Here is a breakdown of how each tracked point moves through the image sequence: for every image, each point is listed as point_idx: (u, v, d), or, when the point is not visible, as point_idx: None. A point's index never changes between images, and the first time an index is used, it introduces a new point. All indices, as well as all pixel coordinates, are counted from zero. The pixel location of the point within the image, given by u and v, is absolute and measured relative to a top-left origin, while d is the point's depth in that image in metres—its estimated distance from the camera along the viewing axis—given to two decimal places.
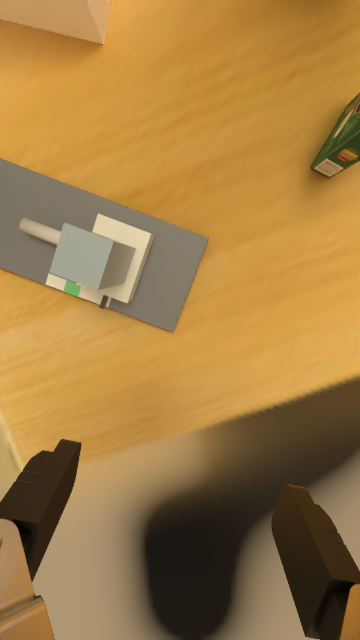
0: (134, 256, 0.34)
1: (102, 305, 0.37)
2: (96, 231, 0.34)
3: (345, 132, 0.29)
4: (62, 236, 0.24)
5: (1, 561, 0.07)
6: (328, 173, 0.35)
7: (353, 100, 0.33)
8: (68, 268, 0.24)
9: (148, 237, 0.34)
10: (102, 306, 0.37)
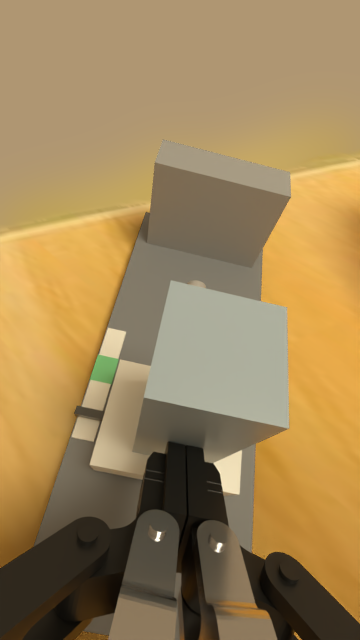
0: None
1: (80, 411, 0.19)
2: None
3: None
4: (256, 305, 0.10)
5: (175, 545, 0.08)
6: None
7: None
8: (188, 318, 0.10)
9: (231, 490, 0.17)
10: (78, 411, 0.19)
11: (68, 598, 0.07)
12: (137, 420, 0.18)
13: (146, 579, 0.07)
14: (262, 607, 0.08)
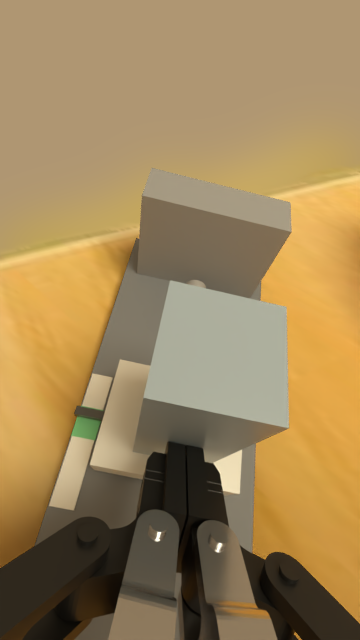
0: None
1: (80, 411, 0.19)
2: None
3: None
4: (256, 304, 0.10)
5: (174, 545, 0.08)
6: None
7: None
8: (187, 318, 0.10)
9: (231, 489, 0.17)
10: (78, 411, 0.19)
11: (68, 598, 0.07)
12: (137, 420, 0.18)
13: (146, 579, 0.07)
14: (262, 607, 0.08)
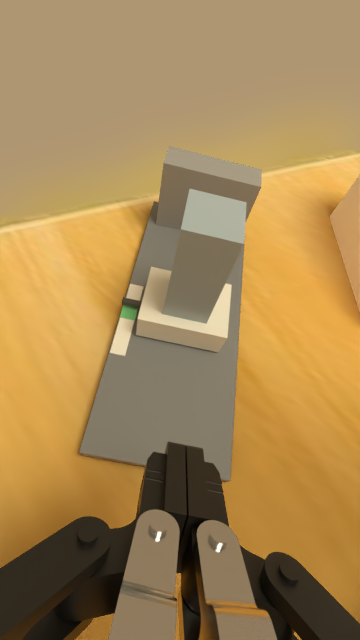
0: (196, 322, 0.28)
1: (126, 300, 0.30)
2: None
3: None
4: (231, 200, 0.21)
5: (175, 545, 0.08)
6: None
7: None
8: (198, 203, 0.21)
9: (222, 335, 0.27)
10: (125, 300, 0.30)
11: (68, 598, 0.08)
12: (164, 298, 0.28)
13: (146, 579, 0.07)
14: (262, 607, 0.08)
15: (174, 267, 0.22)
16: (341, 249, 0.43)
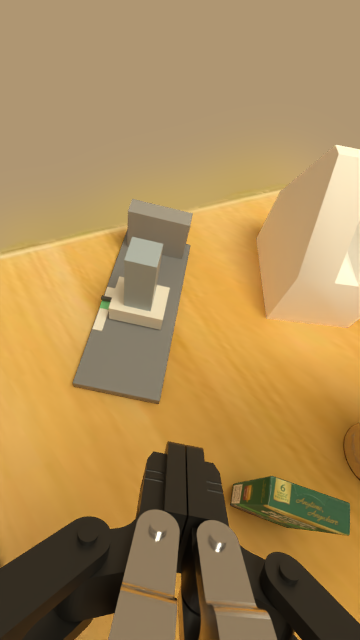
0: (144, 310, 0.46)
1: (103, 297, 0.49)
2: (157, 287, 0.48)
3: None
4: (154, 243, 0.40)
5: (175, 545, 0.08)
6: (233, 499, 0.39)
7: None
8: (136, 245, 0.39)
9: (159, 318, 0.46)
10: (102, 297, 0.48)
11: (68, 598, 0.08)
12: None
13: (146, 579, 0.07)
14: (262, 607, 0.08)
15: (125, 278, 0.40)
16: (260, 262, 0.61)
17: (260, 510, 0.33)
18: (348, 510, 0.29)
